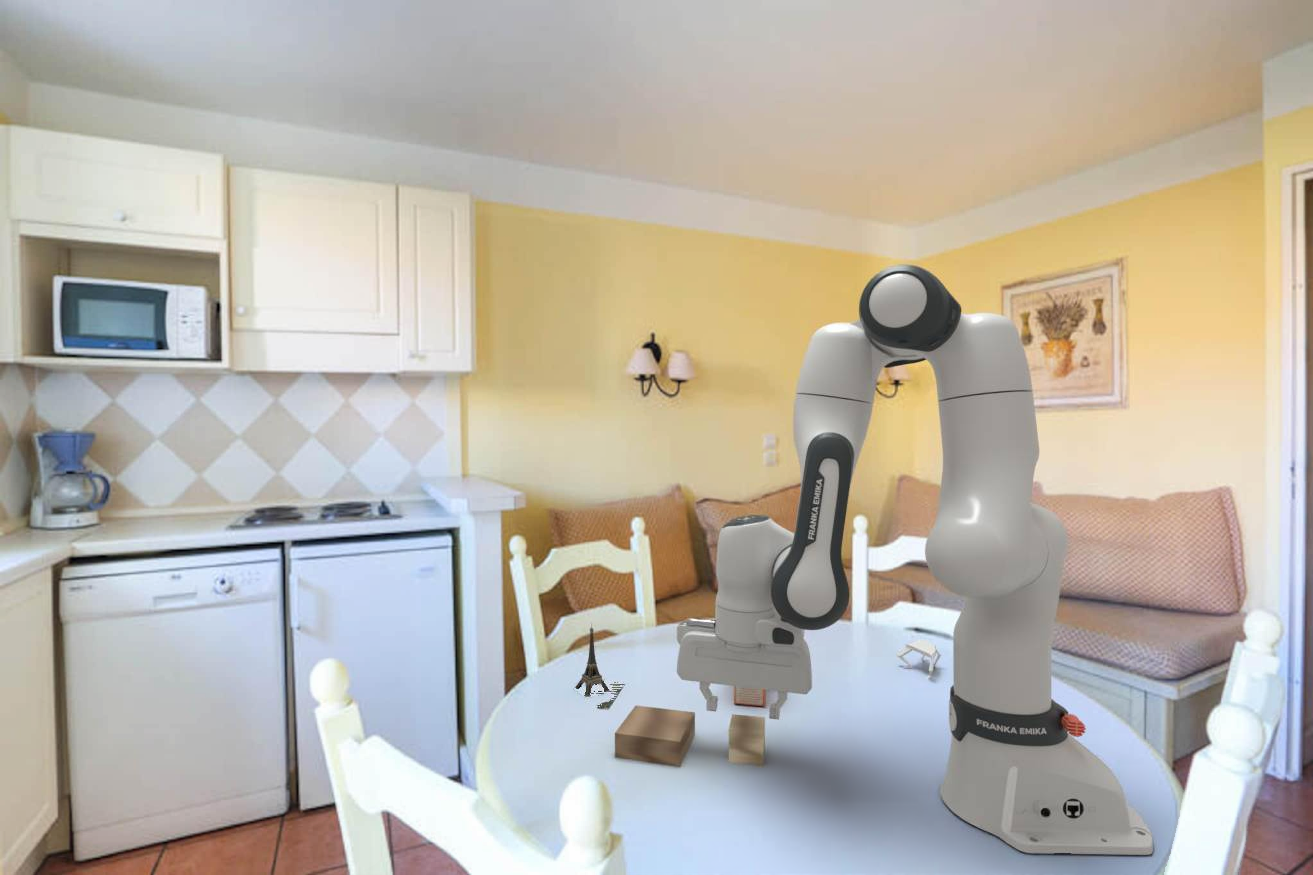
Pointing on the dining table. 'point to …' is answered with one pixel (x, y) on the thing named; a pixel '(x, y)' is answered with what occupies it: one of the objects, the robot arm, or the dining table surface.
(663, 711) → the walnut block
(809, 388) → the robot arm
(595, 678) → the eiffel tower figurine
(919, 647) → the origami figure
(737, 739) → the maple cube
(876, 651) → the dining table surface
